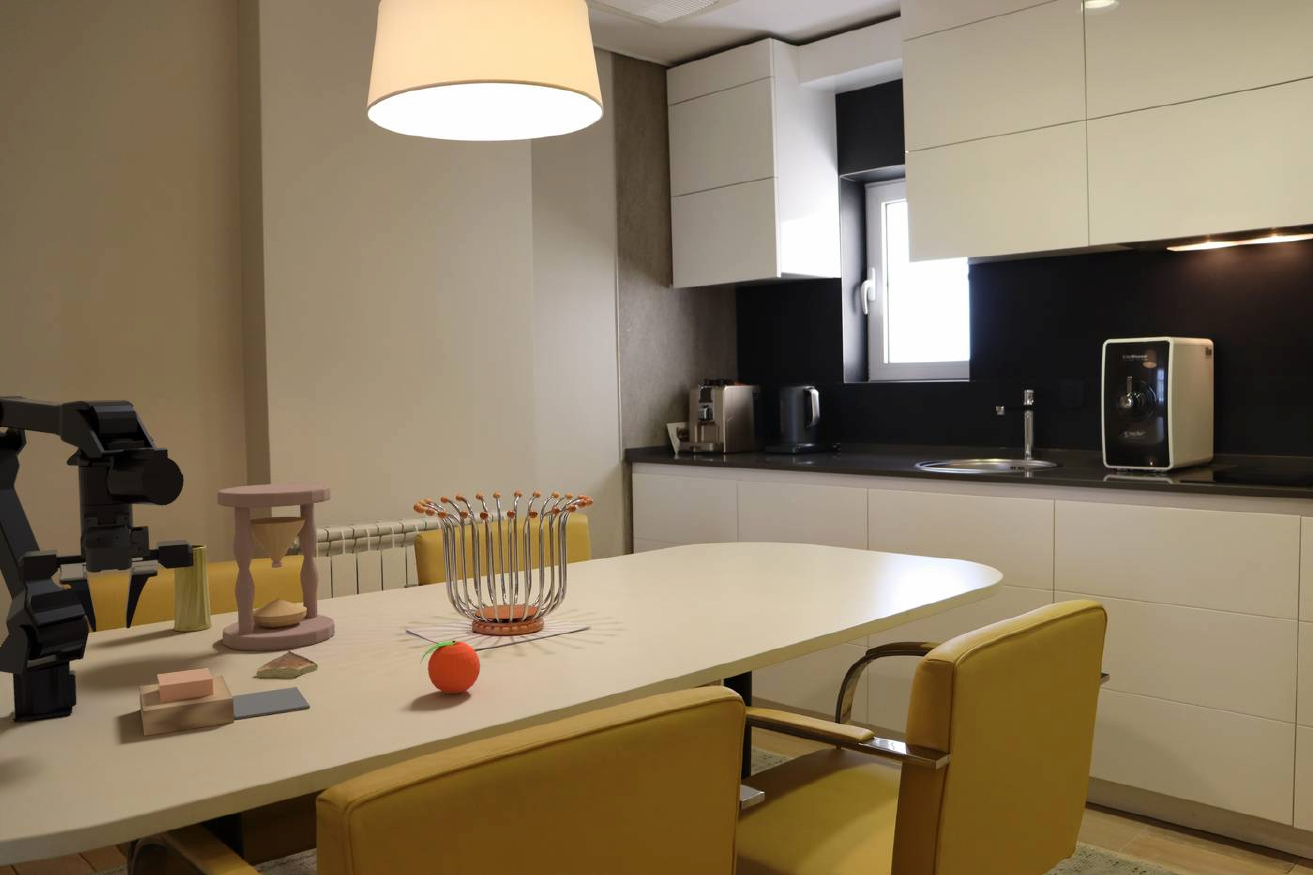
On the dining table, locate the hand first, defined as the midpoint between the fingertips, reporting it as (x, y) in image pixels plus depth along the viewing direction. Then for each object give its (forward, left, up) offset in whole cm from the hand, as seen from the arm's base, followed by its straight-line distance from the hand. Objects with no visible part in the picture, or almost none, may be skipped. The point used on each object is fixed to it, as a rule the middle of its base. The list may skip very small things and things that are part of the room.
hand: (111, 629), depth 129 cm
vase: (+13, +54, -12) cm, 57 cm away
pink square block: (+8, 0, -9) cm, 12 cm away
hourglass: (+25, +38, -12) cm, 47 cm away
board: (+8, 0, -12) cm, 14 cm away
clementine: (+40, -8, -12) cm, 43 cm away
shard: (+22, +17, -13) cm, 30 cm away
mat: (+18, 0, -12) cm, 21 cm away
